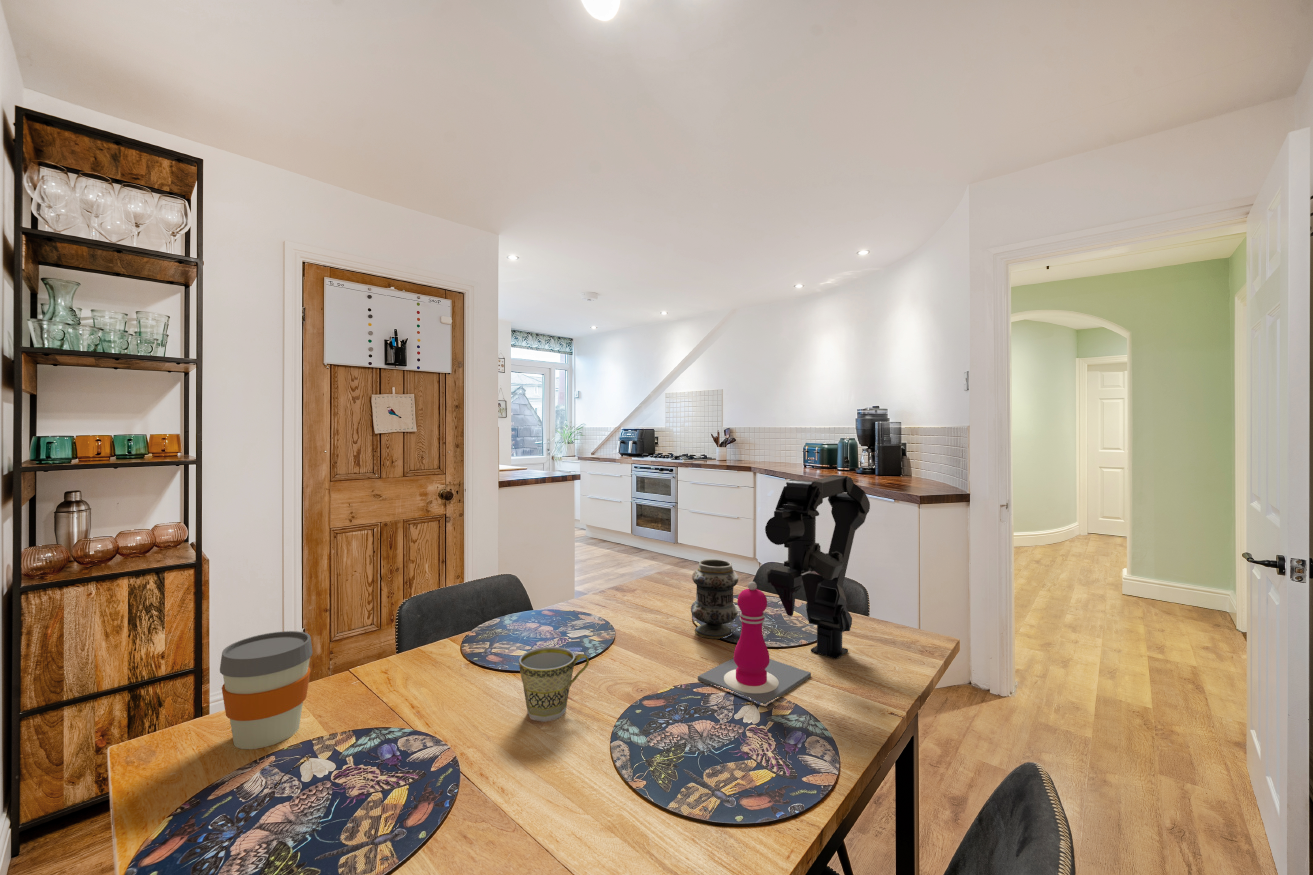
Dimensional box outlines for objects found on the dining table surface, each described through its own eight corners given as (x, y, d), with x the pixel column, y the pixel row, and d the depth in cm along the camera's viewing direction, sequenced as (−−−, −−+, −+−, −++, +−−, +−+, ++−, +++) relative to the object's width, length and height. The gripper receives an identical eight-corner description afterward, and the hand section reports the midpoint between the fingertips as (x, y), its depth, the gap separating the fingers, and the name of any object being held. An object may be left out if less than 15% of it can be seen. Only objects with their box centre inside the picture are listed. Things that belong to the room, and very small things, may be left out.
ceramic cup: (525, 732, 91) (526, 673, 91) (512, 705, 100) (513, 652, 100) (597, 714, 97) (598, 659, 97) (579, 691, 106) (579, 640, 106)
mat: (746, 654, 125) (746, 650, 125) (810, 676, 114) (810, 671, 114) (697, 679, 111) (697, 675, 111) (764, 707, 100) (764, 702, 100)
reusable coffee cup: (239, 765, 81) (239, 666, 81) (205, 739, 88) (206, 648, 88) (326, 727, 92) (327, 640, 92) (290, 707, 99) (291, 625, 99)
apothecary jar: (740, 641, 132) (741, 568, 132) (691, 640, 133) (692, 567, 132) (734, 624, 144) (735, 557, 144) (689, 623, 145) (690, 556, 145)
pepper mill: (757, 691, 105) (759, 588, 105) (726, 679, 110) (727, 581, 109) (775, 678, 110) (777, 581, 110) (745, 668, 115) (746, 574, 115)
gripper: (816, 550, 104) (815, 631, 104) (856, 537, 117) (855, 609, 118) (766, 542, 112) (765, 617, 112) (809, 531, 125) (808, 598, 125)
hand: (800, 610), depth 116 cm, fingers open, 9 cm apart
